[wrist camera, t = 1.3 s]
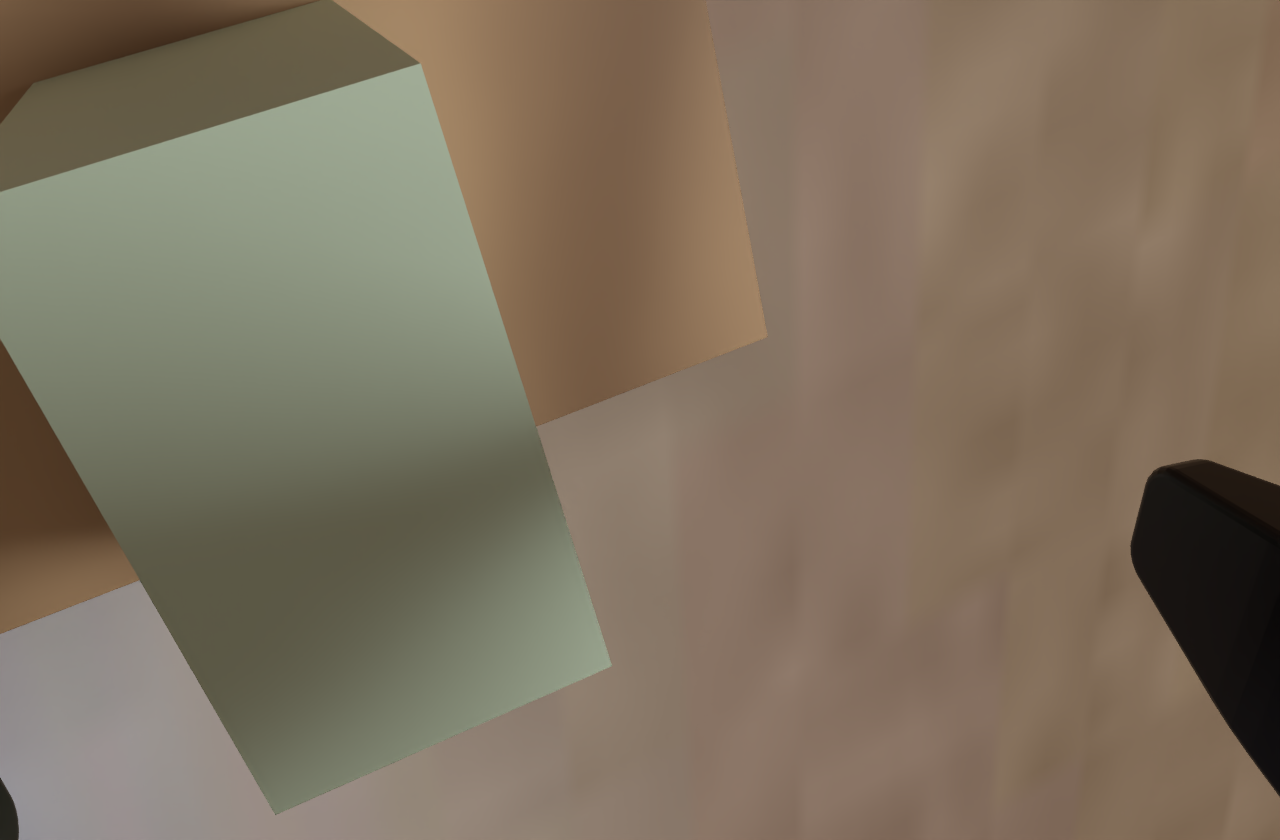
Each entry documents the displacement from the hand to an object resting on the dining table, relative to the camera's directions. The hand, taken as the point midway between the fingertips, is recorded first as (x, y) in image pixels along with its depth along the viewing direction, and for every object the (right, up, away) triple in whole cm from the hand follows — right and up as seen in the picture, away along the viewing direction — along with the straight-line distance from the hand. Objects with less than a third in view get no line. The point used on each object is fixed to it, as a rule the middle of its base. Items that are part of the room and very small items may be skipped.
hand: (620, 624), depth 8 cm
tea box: (-5, +4, +8) cm, 10 cm away
